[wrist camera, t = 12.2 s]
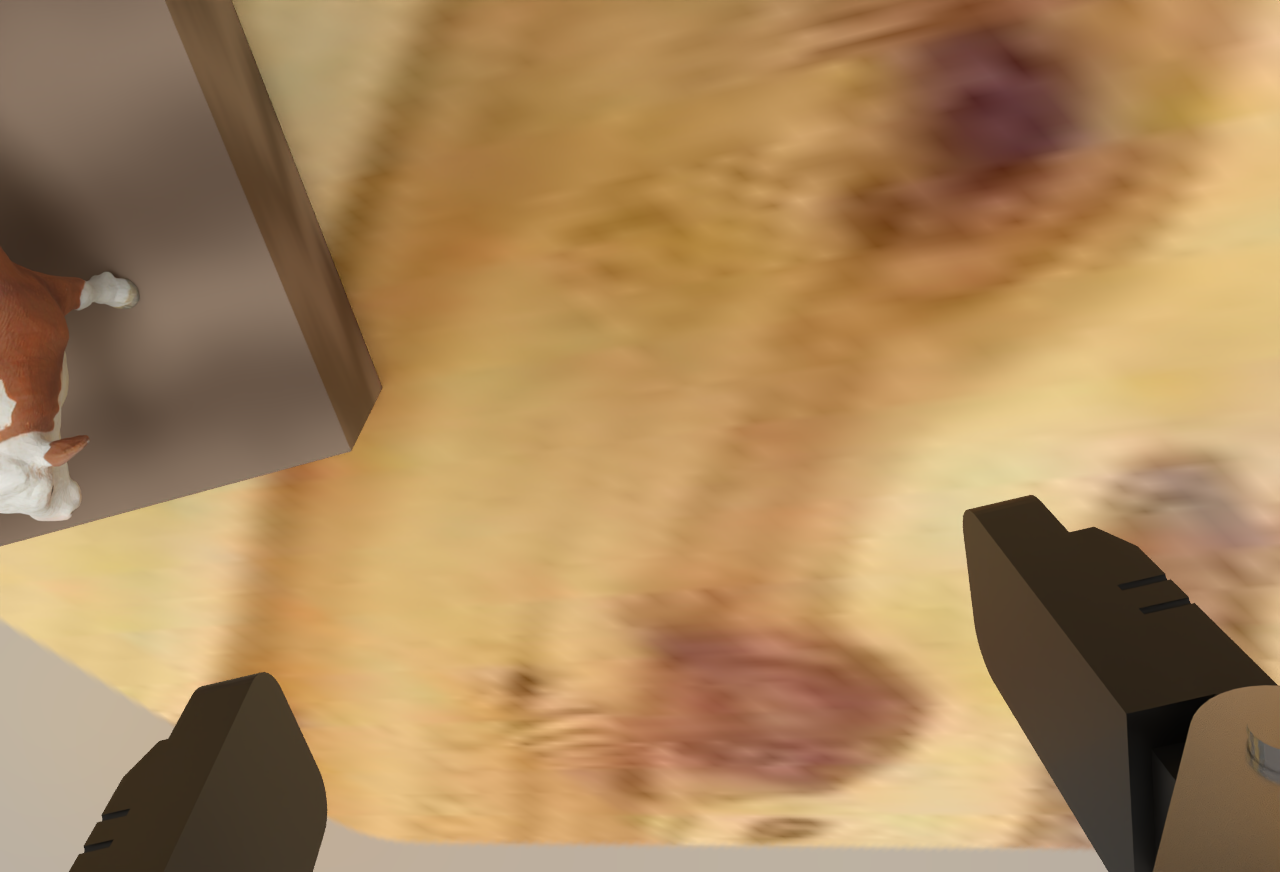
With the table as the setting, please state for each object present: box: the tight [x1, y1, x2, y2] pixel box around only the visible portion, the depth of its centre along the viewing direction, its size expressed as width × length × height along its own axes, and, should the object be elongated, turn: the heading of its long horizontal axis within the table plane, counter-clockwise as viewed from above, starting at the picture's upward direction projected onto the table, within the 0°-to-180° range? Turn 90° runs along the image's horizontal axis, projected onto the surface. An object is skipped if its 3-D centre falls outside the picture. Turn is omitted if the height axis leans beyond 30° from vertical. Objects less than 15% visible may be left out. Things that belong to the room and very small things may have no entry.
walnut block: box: [0, 0, 382, 546], centre depth 33 cm, size 18×14×6 cm
